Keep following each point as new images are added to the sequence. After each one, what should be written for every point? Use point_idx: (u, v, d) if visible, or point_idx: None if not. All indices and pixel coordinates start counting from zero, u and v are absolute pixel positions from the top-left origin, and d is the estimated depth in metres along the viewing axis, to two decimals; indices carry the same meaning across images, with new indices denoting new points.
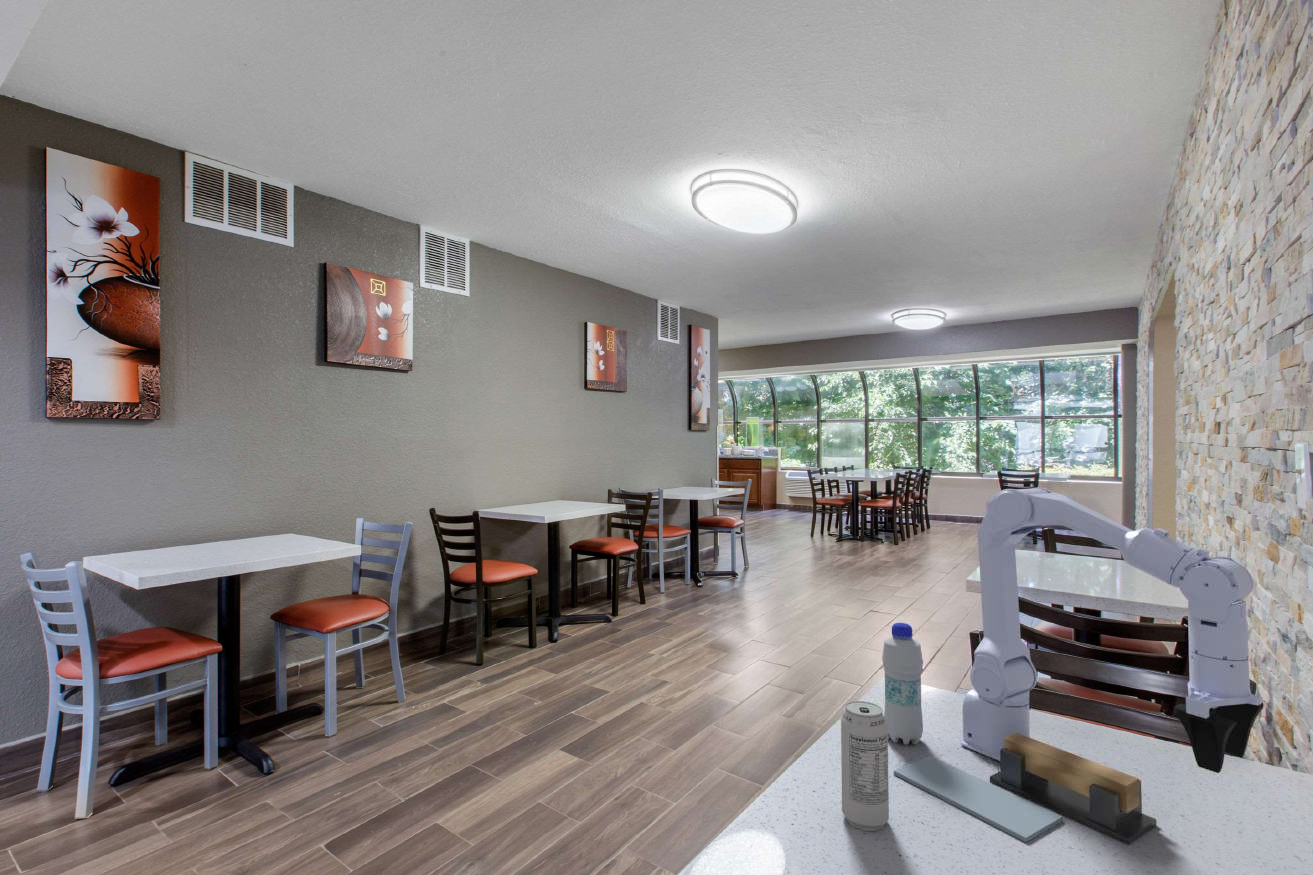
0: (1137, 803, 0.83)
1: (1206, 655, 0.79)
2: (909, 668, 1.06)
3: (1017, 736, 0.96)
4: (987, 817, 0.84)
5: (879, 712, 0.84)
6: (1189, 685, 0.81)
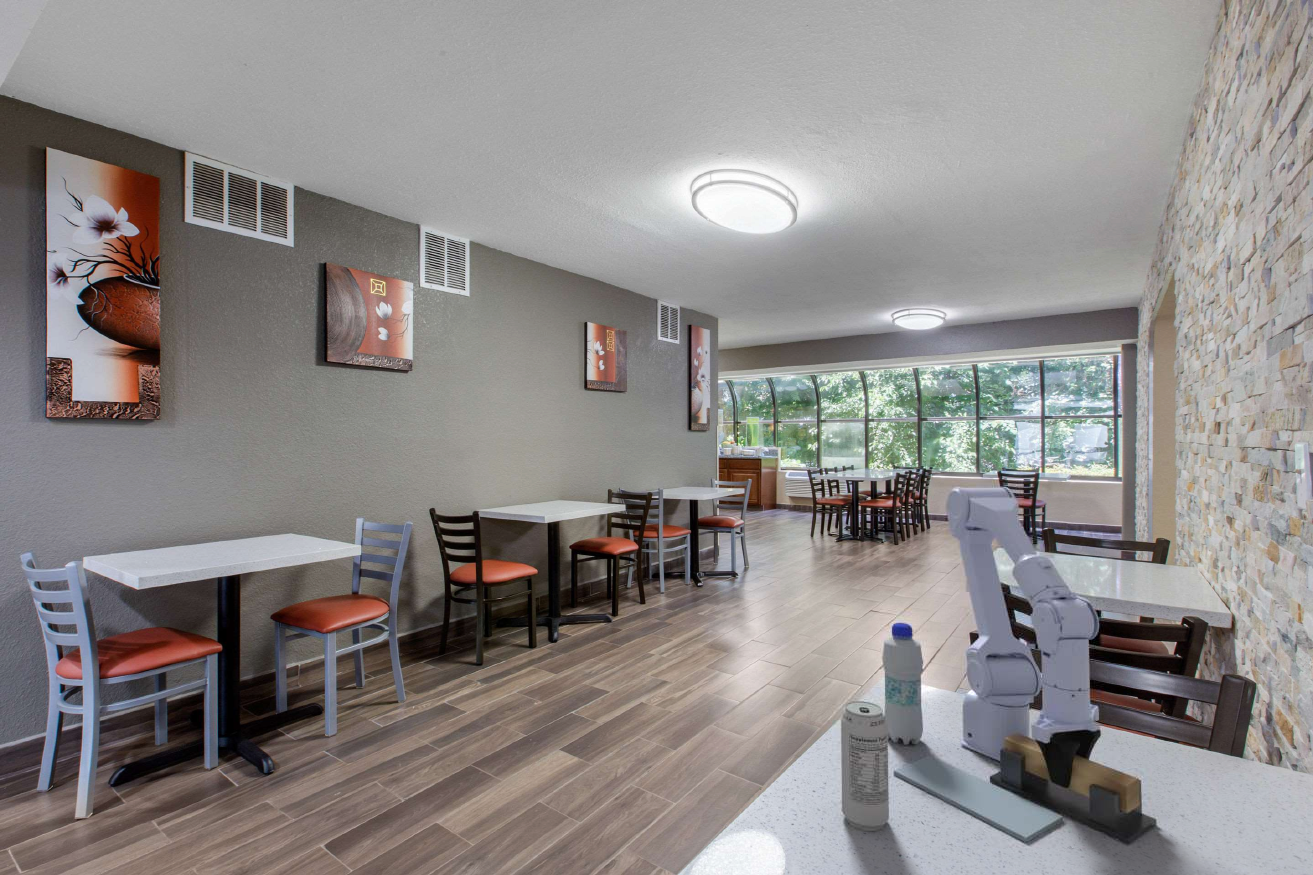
0: (1137, 803, 0.83)
1: (1052, 685, 0.88)
2: (909, 668, 1.06)
3: (1017, 736, 0.96)
4: (987, 817, 0.84)
5: (879, 712, 0.84)
6: (1041, 712, 0.90)
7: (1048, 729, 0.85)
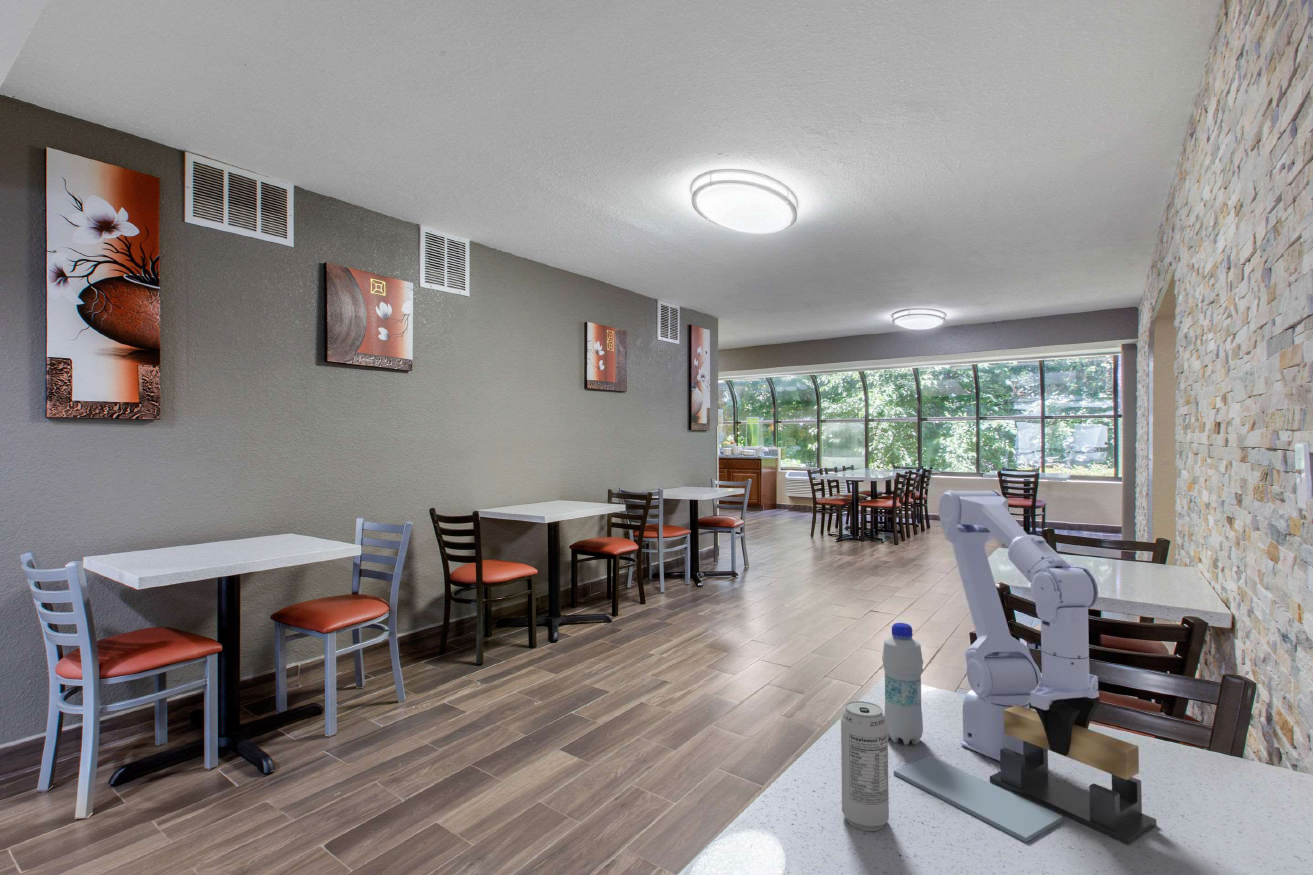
0: (1137, 770, 0.83)
1: (1052, 654, 0.88)
2: (909, 668, 1.06)
3: (1016, 707, 0.96)
4: (987, 817, 0.84)
5: (879, 712, 0.84)
6: (1040, 681, 0.90)
7: (1047, 696, 0.85)
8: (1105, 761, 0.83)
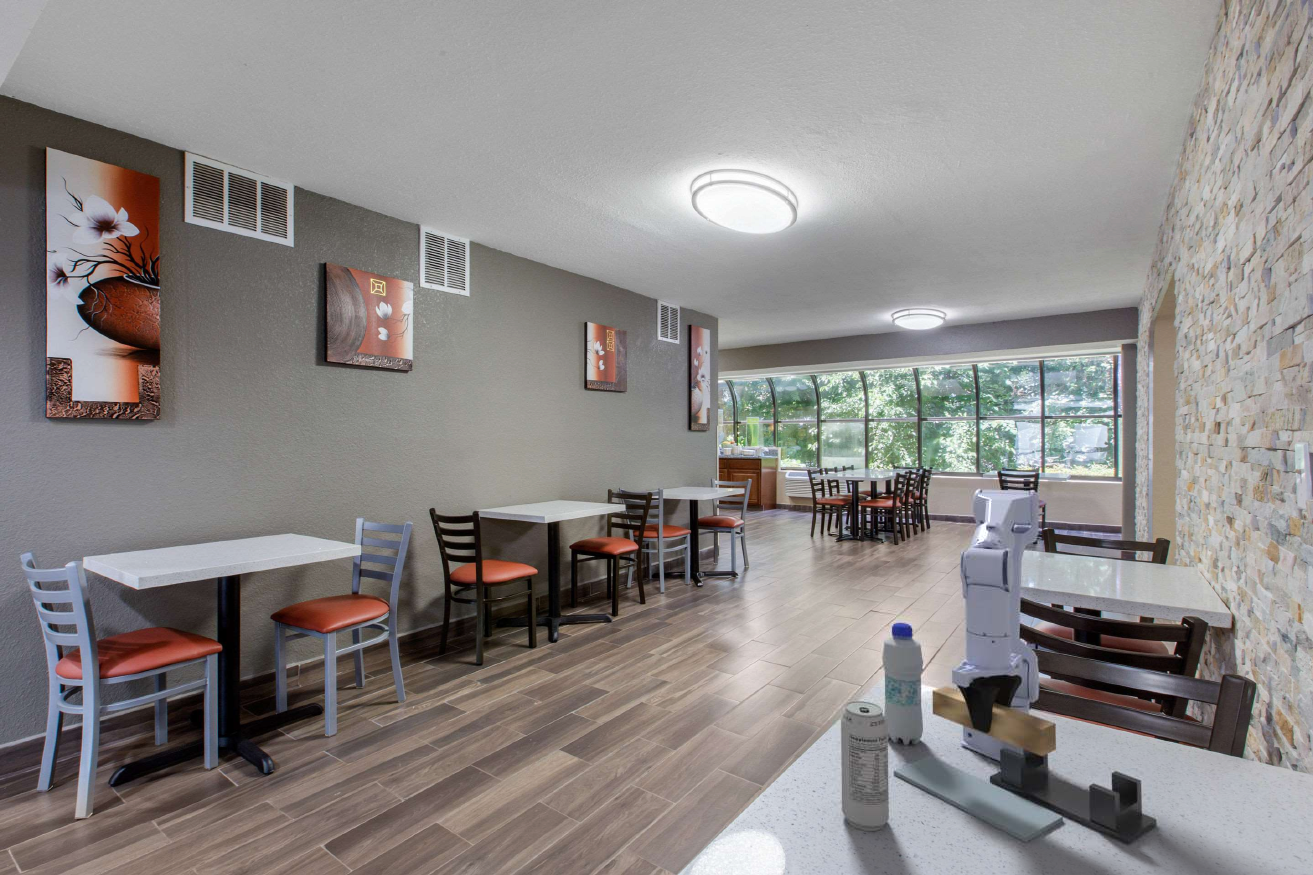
0: (1053, 747, 0.84)
1: (974, 632, 0.90)
2: (909, 668, 1.06)
3: (945, 688, 0.97)
4: (987, 817, 0.84)
5: (879, 712, 0.84)
6: (964, 660, 0.92)
7: (967, 673, 0.86)
8: (1023, 738, 0.85)
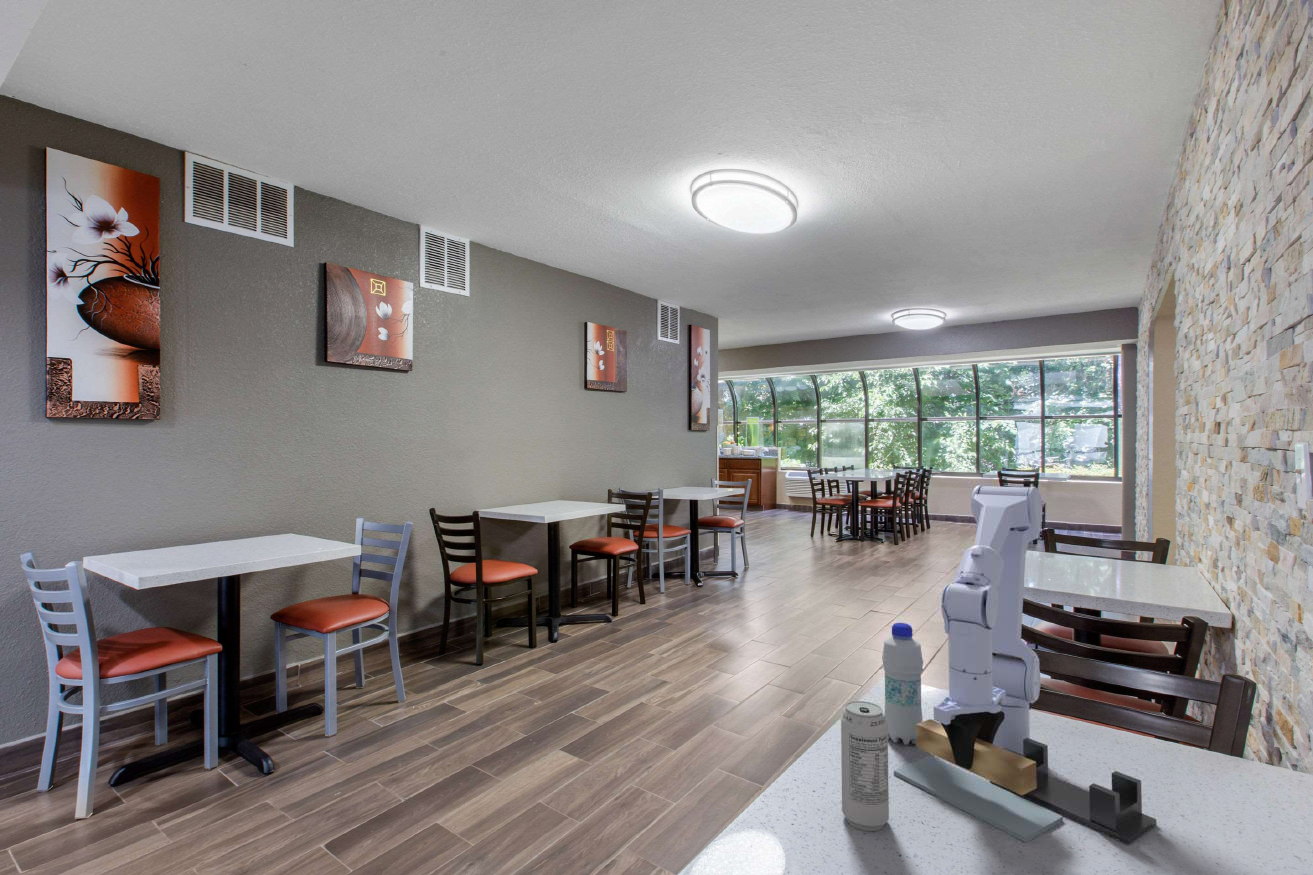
0: (1034, 786, 0.84)
1: (956, 669, 0.90)
2: (909, 668, 1.06)
3: (929, 722, 0.97)
4: (987, 817, 0.84)
5: (879, 712, 0.84)
6: (947, 695, 0.92)
7: (948, 711, 0.87)
8: (1004, 776, 0.85)
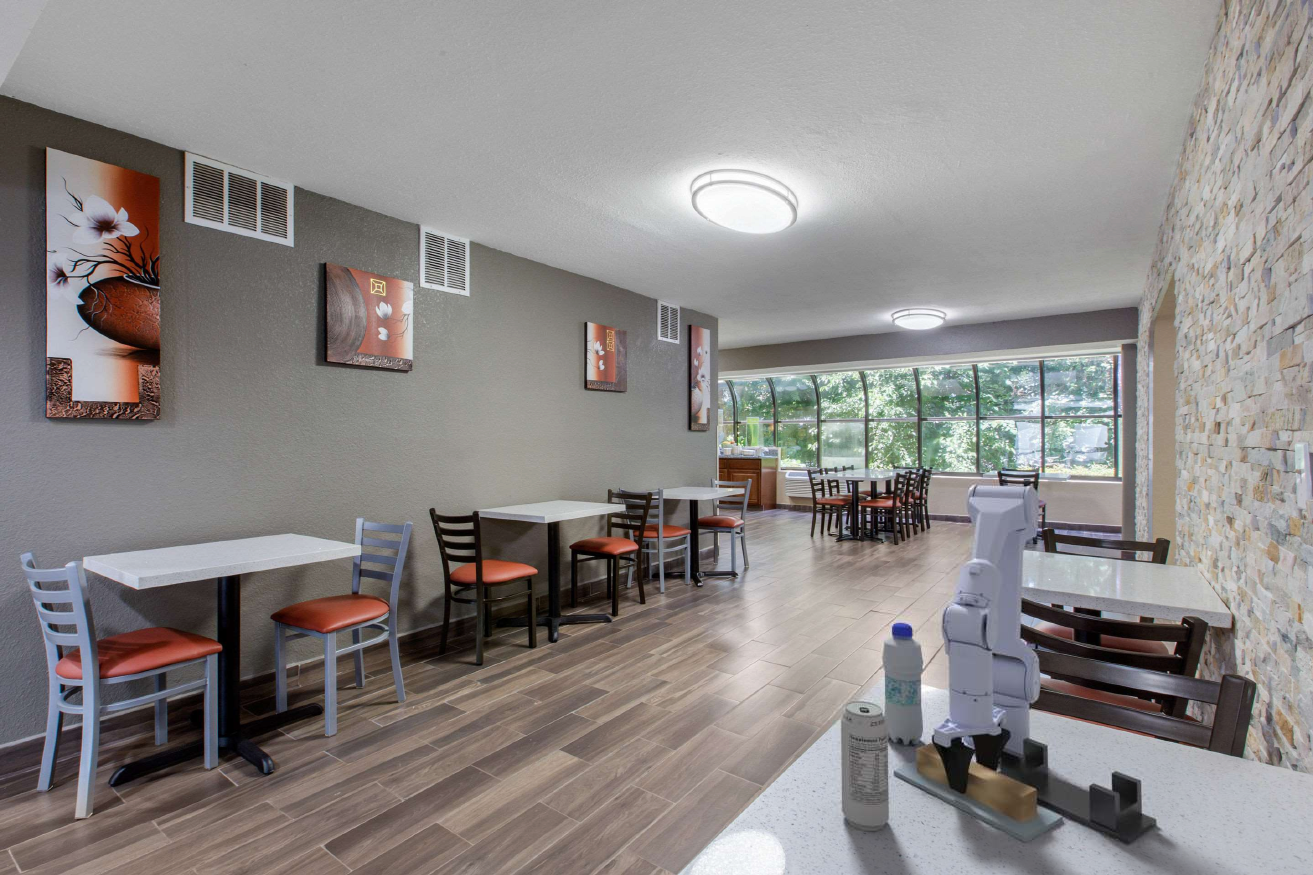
0: (1035, 813, 0.84)
1: (957, 690, 0.90)
2: (909, 668, 1.06)
3: (929, 746, 0.97)
4: (987, 817, 0.84)
5: (879, 712, 0.84)
6: (947, 716, 0.92)
7: (949, 733, 0.87)
8: (1004, 804, 0.85)
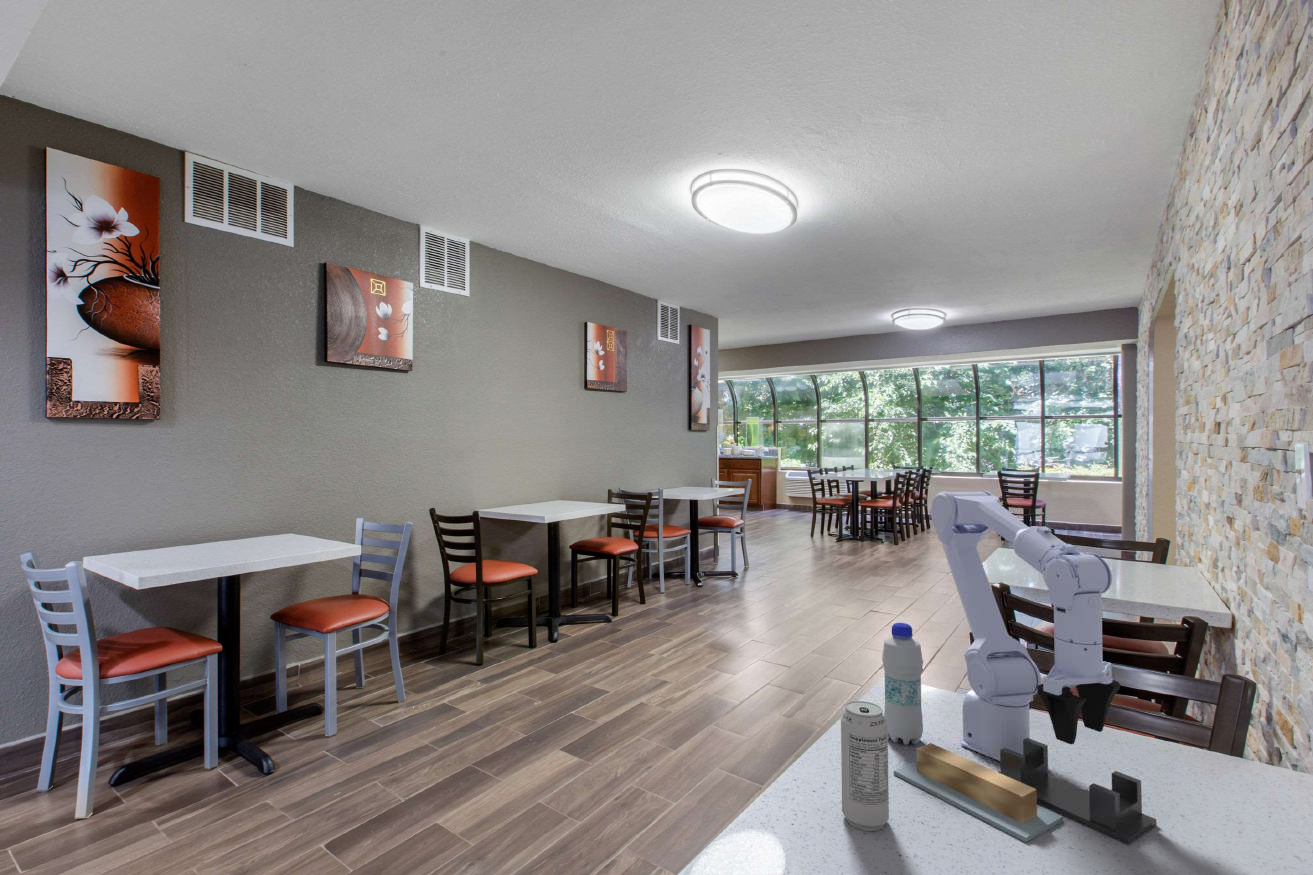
0: (1035, 813, 0.84)
1: (1065, 640, 0.88)
2: (909, 668, 1.06)
3: (929, 746, 0.97)
4: (987, 817, 0.84)
5: (879, 712, 0.84)
6: (1053, 667, 0.91)
7: (1060, 681, 0.85)
8: (1004, 804, 0.85)
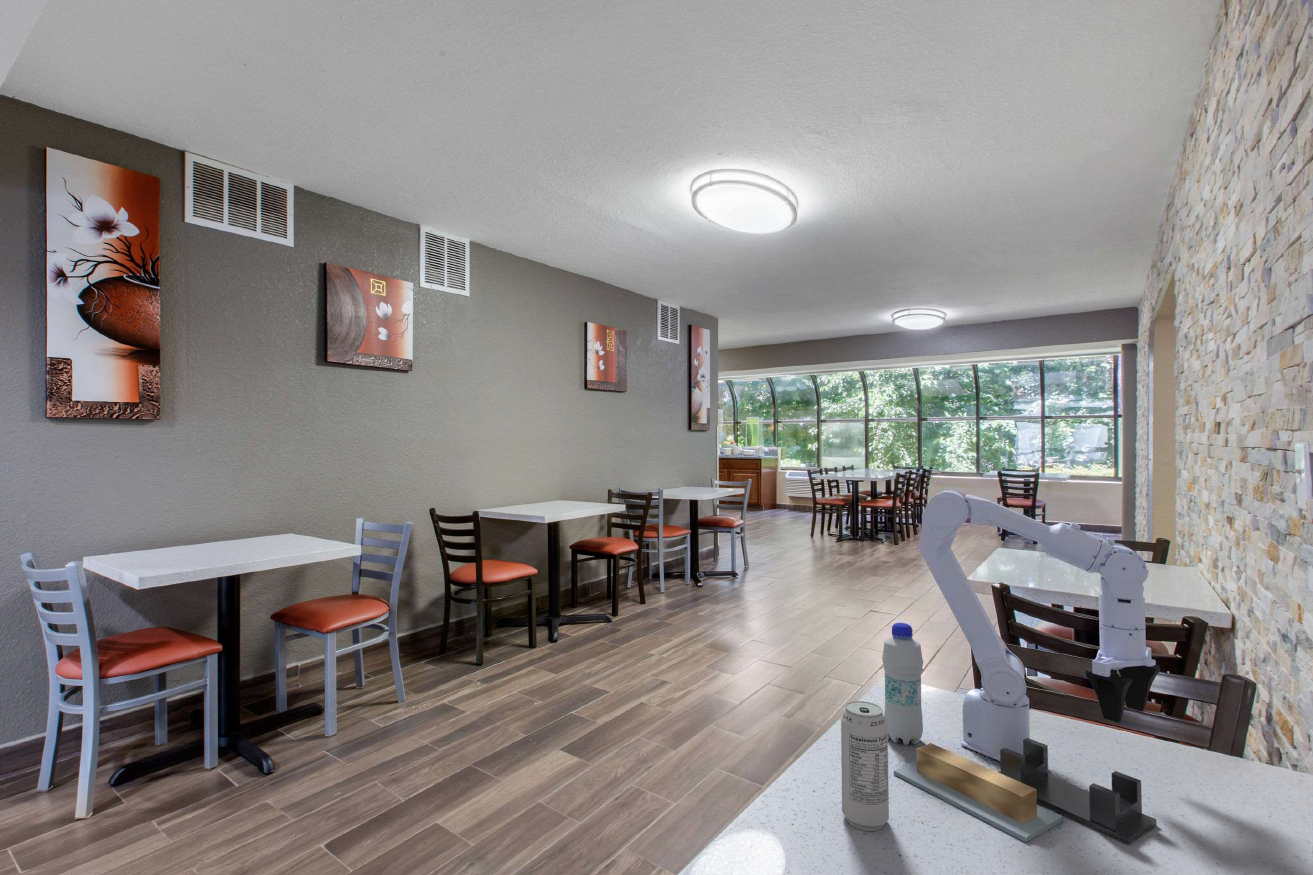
0: (1035, 813, 0.84)
1: (1111, 626, 0.95)
2: (909, 668, 1.06)
3: (929, 746, 0.97)
4: (987, 817, 0.84)
5: (879, 712, 0.84)
6: (1099, 651, 0.97)
7: (1109, 664, 0.92)
8: (1004, 804, 0.85)
